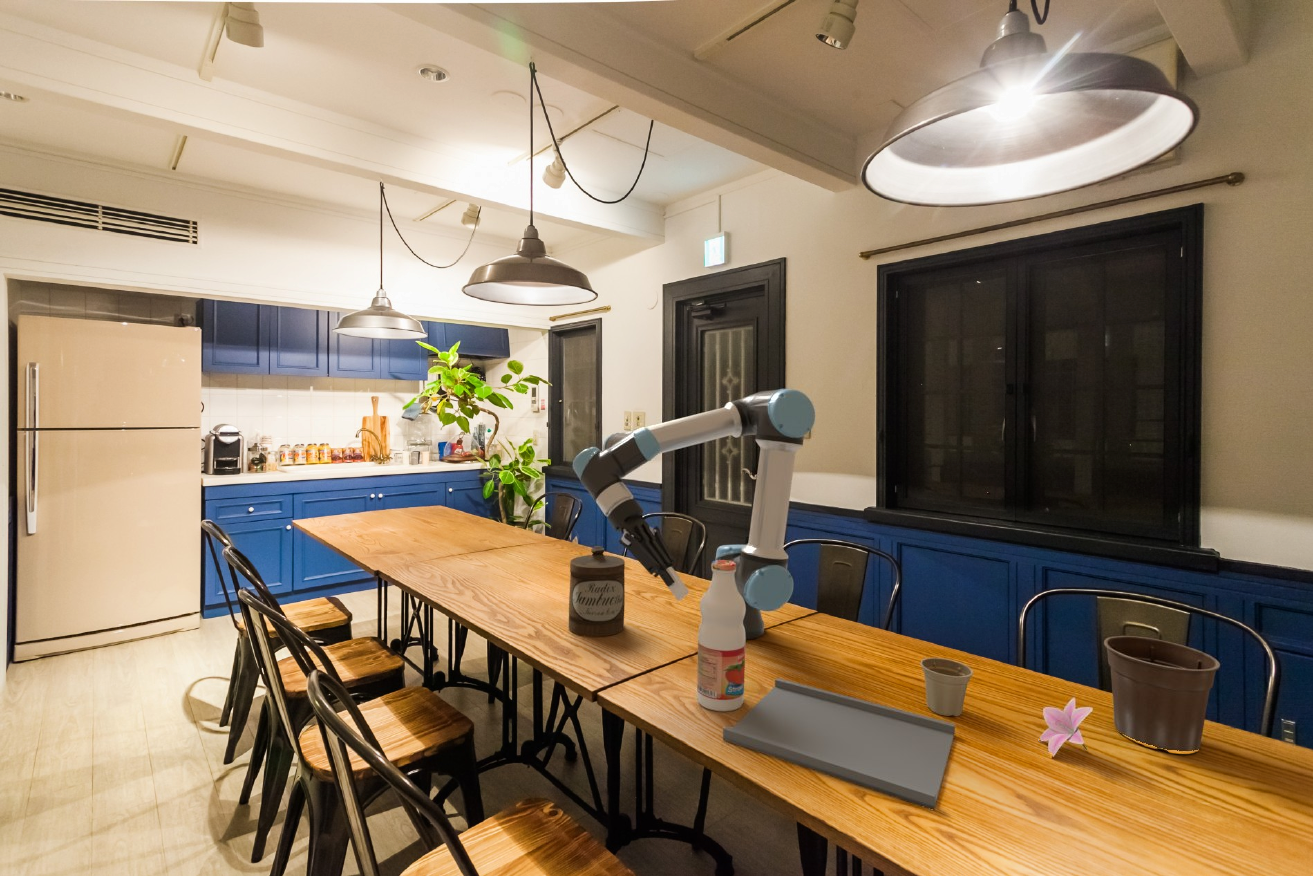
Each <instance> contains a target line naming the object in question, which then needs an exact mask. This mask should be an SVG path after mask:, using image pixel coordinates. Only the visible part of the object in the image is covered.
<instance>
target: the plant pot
mask: <svg viewBox="0 0 1313 876" xmlns="http://www.w3.org/2000/svg"><path fill="white" fill-rule="evenodd" d="M1103 645H1104V647H1105V648H1106V651H1107V661H1108V662H1107V663H1108V665H1109V667H1110V677H1111V690H1112V691H1111V692H1112V706H1113V708H1112V709H1113V723H1114V727H1115V729H1117V730H1118V731H1119V732H1121V733H1122V734H1124V735H1126V736H1128V737H1130V738H1132V739H1135V740H1136V741H1140V742H1142V743H1146V744H1148V745H1153V746H1155V747H1157V748H1163V749H1167V750H1177V751H1178V750H1179V751H1192V750H1193V751H1194V750H1198V749H1199V748H1200V749H1201V745H1202V737H1203V732H1204V727H1205V721H1206V720H1205V719H1206V714H1207V708H1208V707H1207V706H1208V702H1209V701H1208V700H1209V696H1210V691H1211V689H1212V688H1213V686H1214V684H1215V683H1214V681H1215V675H1216V671H1218V670H1220V667H1221V663H1220V662H1219V661H1218V660H1217V659H1216V658H1214V657H1213V656H1211V655H1210V654H1207V653H1206V652H1203V651H1201V650H1198V649H1196V648H1192V647H1188V646H1186V645H1183V644H1179V643H1174V642H1172V641H1167V640H1161V639H1158V638H1157V639H1156V638H1152V637H1144V636H1133V635H1118V636H1111V637H1110V636H1109V637H1107V638H1105V639H1104V641H1103ZM1117 730H1116V731H1117ZM1118 731H1117V732H1118ZM1119 732H1118V733H1119ZM1163 749H1162V750H1163Z"/></svg>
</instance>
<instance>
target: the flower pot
mask: <svg viewBox="0 0 1313 876" xmlns="http://www.w3.org/2000/svg"><path fill="white" fill-rule="evenodd" d="M919 664H920V667H921V668H922V672H923V675H924V685H925V687H924V688H925V695H926V696H925V697H926V706H927V708H929V709H930V711H932V712H933V713H936V714H938V715H940V716H941V715H942V716H944V717H949V716H954V717H959V716H960V715H962V713H963V707H964V702H965V697H966V693H967V687H968V684H969V682H970V681H971V677H972V676H973V675H974V671H973V669H972V668H971V667H969V665H966V664H965V663H962V662H959V661H956V660H953V659H949V658H948V659H947V658H941V657H940V658H939V657H927V658H923V659H921V661H920V663H919Z"/></svg>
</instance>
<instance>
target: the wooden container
mask: <svg viewBox="0 0 1313 876" xmlns="http://www.w3.org/2000/svg"><path fill="white" fill-rule="evenodd" d="M590 552H591V554H588V555H582V556H577V557H574V558H572V559H571V560H570V561H569V562H570V565H569V566H570V567H569V570H570V571H569V572H570V577H569V596H568V597H569V599H568V629H569V631H570V632H572V633H573V634H576V635H579V636H583V637H588V638H589V637H591V638H592V637H593V638H595V637H596V638H598V637H599V638H600V637H608V636H612V635H613V636H614V635H617V634H619V633H620V632H622V631H623V629H624V627H625V626H624V625H625V607H626V605H625V602H626V601H625V595H626V593H625V592H626V591H625V583H626V580H625V578H626V577H625V575H626V574H625V569H626V568H625V567H626V566H625V565H626V564H625V563H626V561H625V560H624V558H622V557H619V556H614V555H609V554H608V555H607V554H604V553H605V548H604V547H603V546H601V545H594V546H593V547H592V548H591V550H590Z"/></svg>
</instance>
